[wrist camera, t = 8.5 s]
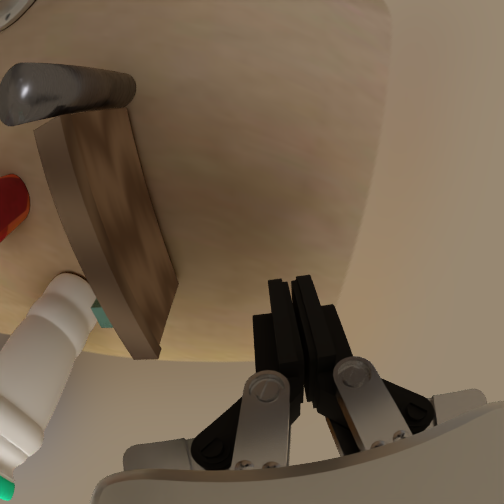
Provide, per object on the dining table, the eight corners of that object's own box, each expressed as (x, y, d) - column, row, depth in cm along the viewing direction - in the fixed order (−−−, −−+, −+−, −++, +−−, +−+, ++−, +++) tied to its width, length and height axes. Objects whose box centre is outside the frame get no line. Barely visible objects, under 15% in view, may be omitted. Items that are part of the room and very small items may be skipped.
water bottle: (104, 282, 26) (3, 506, 5) (103, 326, 30) (34, 515, 8) (52, 261, 25) (-67, 447, 3) (56, 306, 28) (-28, 473, 7)
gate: (107, 115, 18) (33, 130, 10) (129, 106, 17) (59, 115, 10) (161, 285, 25) (133, 359, 18) (181, 283, 25) (158, 359, 17)
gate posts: (103, 77, 17) (-4, 75, 6) (135, 69, 17) (37, 52, 6) (129, 271, 26) (78, 365, 15) (157, 271, 26) (114, 372, 15)
